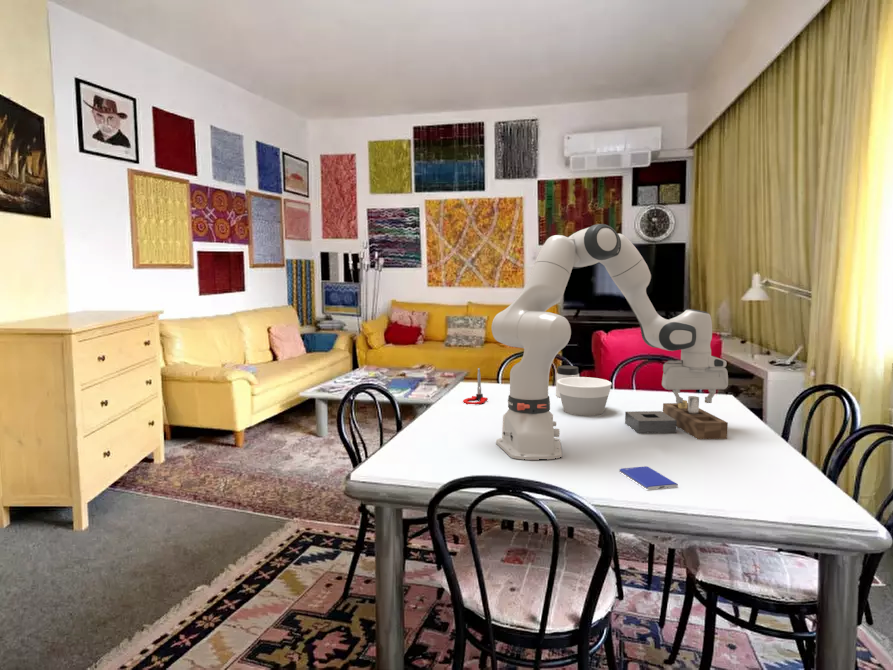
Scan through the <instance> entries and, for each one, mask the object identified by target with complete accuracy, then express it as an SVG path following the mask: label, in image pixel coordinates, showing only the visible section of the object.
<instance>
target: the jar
mask: <svg viewBox="0 0 893 670" xmlns="http://www.w3.org/2000/svg"><path fill="white" fill-rule="evenodd" d="M556 369H557V373H555V374H556V380H555V396H556V397H557V398H560V399H561V396H560V392H559V388H558V384H557V381H558V380H559V379H562V378H568V377H580V373H579V367H578V366H575V365H559V366H557V368H556Z"/></svg>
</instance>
